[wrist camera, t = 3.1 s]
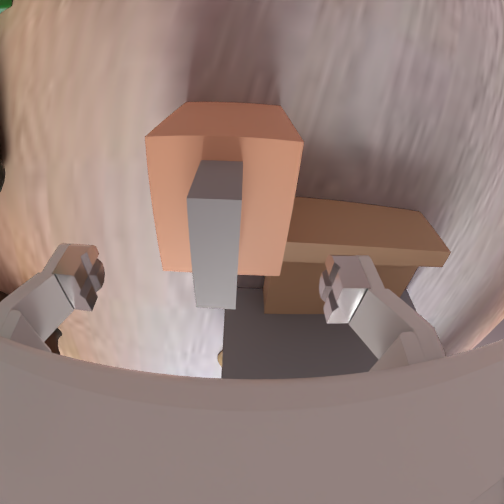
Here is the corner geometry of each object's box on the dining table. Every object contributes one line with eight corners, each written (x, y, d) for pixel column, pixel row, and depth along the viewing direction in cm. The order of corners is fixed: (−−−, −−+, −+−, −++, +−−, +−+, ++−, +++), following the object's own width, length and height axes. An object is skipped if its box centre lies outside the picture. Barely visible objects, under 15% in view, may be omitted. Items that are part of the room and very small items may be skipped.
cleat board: (445, 216, 21) (535, 359, 9) (387, 319, 31) (421, 436, 19) (228, 192, 20) (209, 435, 8) (226, 320, 30) (221, 465, 18)
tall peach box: (280, 105, 16) (323, 175, 7) (269, 198, 20) (285, 324, 12) (186, 101, 15) (112, 168, 7) (188, 194, 20) (150, 317, 11)
